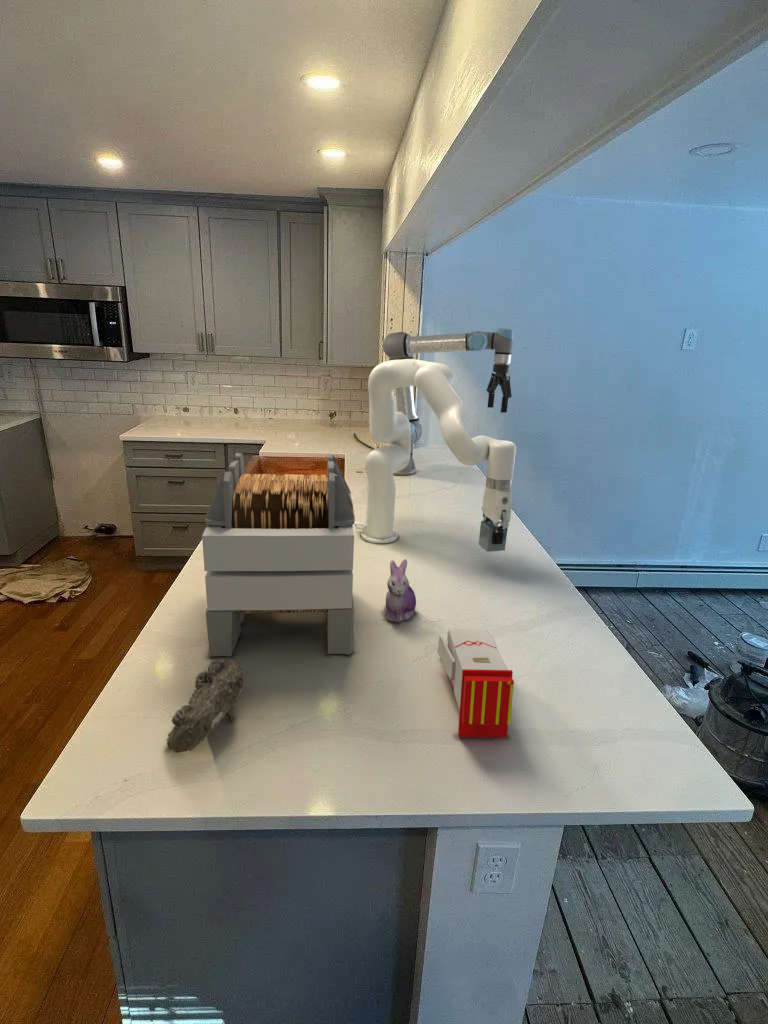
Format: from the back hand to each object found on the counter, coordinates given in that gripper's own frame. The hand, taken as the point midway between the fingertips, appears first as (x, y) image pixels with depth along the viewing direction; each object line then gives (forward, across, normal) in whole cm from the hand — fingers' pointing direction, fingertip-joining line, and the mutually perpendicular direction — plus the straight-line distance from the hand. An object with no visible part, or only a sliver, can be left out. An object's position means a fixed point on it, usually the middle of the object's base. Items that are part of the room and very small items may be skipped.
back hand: (496, 410), depth 267 cm
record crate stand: (+32, -115, +114) cm, 165 cm away
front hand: (+22, -98, +50) cm, 112 cm away
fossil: (+32, -148, +132) cm, 201 cm away
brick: (+24, -98, +49) cm, 113 cm away
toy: (+32, -152, +81) cm, 175 cm away
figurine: (+32, -119, +85) cm, 150 cm away
